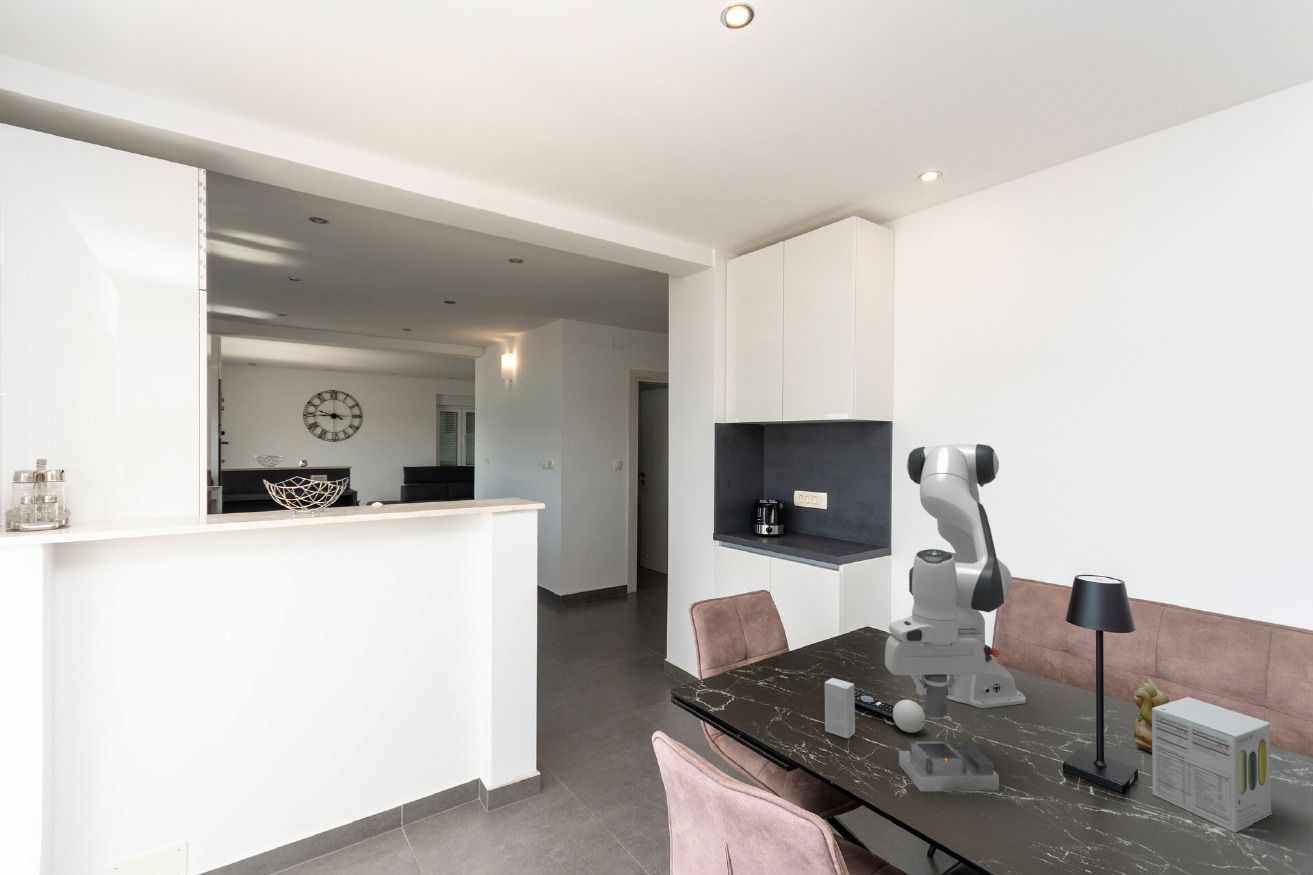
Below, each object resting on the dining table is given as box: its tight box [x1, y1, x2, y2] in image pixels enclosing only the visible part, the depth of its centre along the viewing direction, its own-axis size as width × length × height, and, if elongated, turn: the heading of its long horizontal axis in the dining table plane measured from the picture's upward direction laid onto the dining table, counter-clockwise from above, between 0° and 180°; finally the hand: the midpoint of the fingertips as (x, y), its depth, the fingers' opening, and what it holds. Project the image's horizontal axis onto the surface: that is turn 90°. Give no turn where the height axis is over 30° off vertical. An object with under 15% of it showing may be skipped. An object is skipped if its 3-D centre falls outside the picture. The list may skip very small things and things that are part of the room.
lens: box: [922, 675, 948, 717], centre depth 125 cm, size 5×5×8 cm
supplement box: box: [1151, 696, 1272, 834], centre depth 115 cm, size 13×13×18 cm
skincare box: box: [824, 677, 856, 739], centre depth 144 cm, size 6×4×12 cm
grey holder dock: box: [898, 740, 1000, 793], centre depth 125 cm, size 16×10×6 cm, turn 91°
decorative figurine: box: [1133, 678, 1171, 753], centre depth 136 cm, size 10×8×15 cm
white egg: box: [892, 699, 927, 734], centre depth 146 cm, size 10×7×7 cm
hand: (935, 694), depth 125 cm, fingers closed on lens, 4 cm apart
